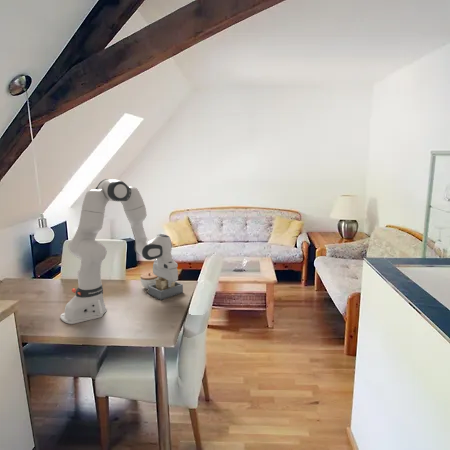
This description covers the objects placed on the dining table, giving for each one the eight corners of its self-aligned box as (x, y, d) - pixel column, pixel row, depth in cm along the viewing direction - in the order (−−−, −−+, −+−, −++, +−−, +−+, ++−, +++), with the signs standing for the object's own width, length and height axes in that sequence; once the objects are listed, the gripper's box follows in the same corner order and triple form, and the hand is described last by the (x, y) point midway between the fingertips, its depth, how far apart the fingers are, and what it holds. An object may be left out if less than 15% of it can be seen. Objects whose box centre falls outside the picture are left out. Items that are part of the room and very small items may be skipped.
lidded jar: (157, 290, 235) (156, 275, 233) (139, 290, 236) (138, 275, 234) (160, 284, 246) (159, 269, 244) (143, 284, 246) (142, 269, 244)
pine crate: (162, 291, 225) (161, 281, 224) (156, 289, 229) (155, 279, 228) (175, 287, 231) (174, 278, 230) (168, 285, 235) (168, 275, 234)
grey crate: (160, 300, 221) (160, 291, 220) (148, 294, 230) (148, 286, 229) (183, 292, 231) (182, 284, 230) (170, 287, 240) (170, 279, 239)
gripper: (149, 259, 232) (150, 282, 235) (170, 267, 217) (171, 291, 220) (158, 257, 236) (159, 279, 239) (179, 264, 222) (180, 288, 225)
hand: (165, 285), depth 230 cm, fingers closed on pine crate, 6 cm apart
